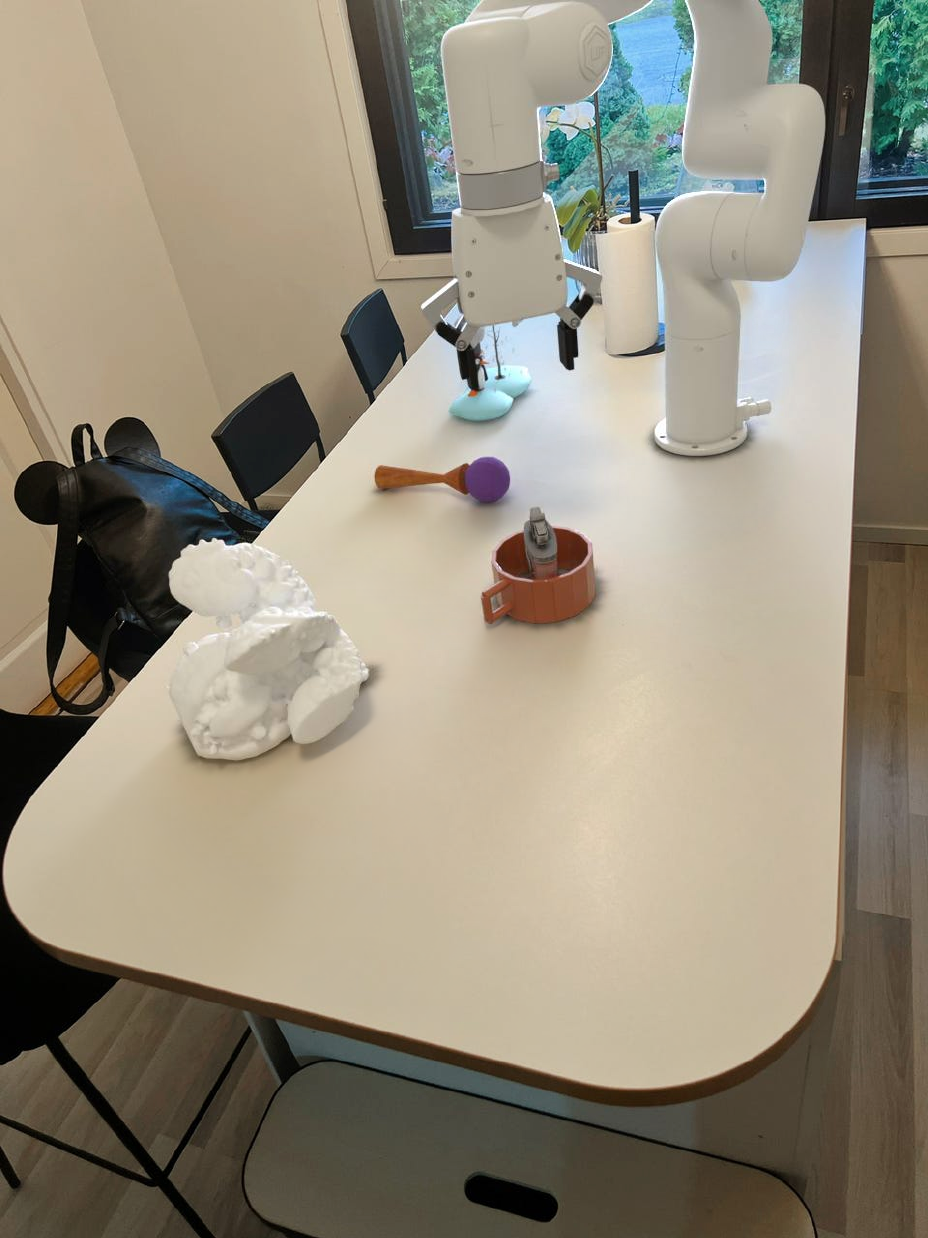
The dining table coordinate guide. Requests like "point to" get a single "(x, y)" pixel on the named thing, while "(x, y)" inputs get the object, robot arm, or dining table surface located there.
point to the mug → (541, 580)
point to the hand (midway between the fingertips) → (520, 375)
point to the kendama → (454, 478)
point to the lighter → (540, 546)
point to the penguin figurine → (490, 384)
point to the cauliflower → (258, 655)
